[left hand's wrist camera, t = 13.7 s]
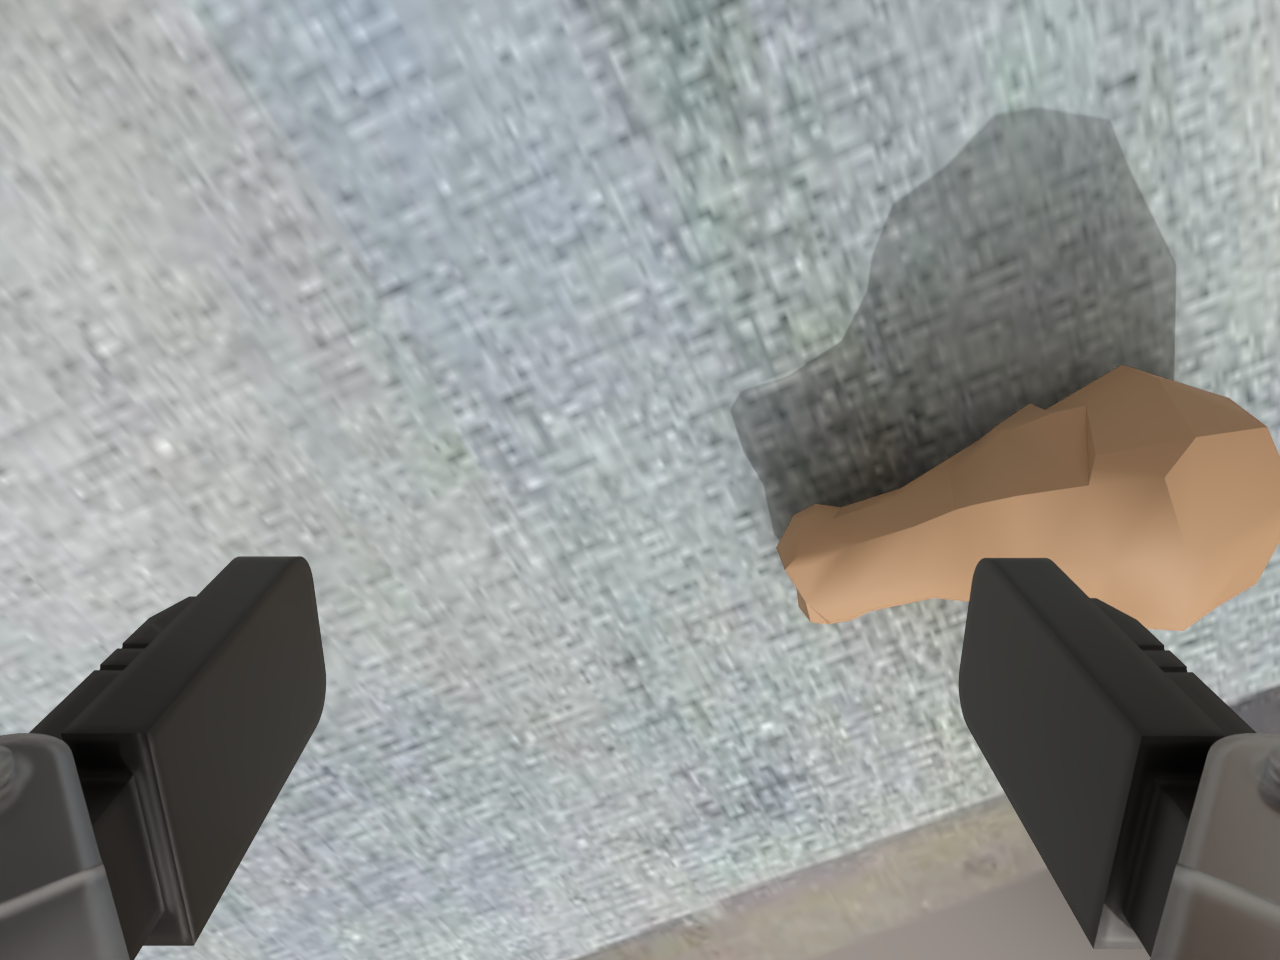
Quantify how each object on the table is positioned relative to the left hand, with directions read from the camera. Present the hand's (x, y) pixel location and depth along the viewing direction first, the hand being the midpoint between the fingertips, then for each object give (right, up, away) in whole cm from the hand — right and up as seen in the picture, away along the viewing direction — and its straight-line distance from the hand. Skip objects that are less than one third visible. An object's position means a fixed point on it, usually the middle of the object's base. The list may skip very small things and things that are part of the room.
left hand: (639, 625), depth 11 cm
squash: (+16, +1, +31) cm, 35 cm away
